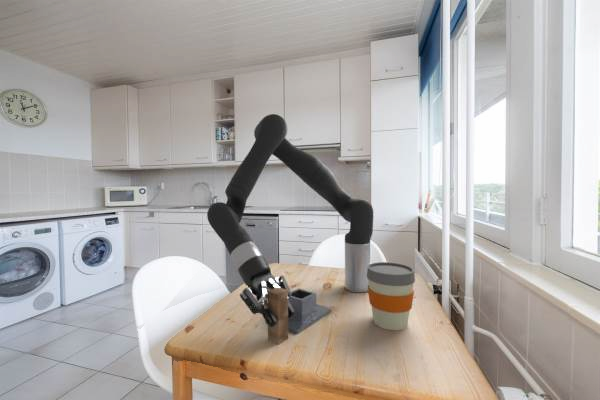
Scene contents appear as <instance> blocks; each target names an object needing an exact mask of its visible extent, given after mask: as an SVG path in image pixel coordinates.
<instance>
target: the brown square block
mask: <svg viewBox="0 0 600 400" xmlns="http://www.w3.org/2000/svg"><path fill="white" fill-rule="evenodd" d="M267 303H268V309H269V308H270V310H271V311H272V313H273V315H274V317H275V318H276V320H277V324H276V325H275V326H273V327H270V326H269V325H268V324H267V340H268V341H270V342H272V343H274V344H276V345H280V344H282V343H283V342H285V341H287V340H288V339H289V330H288V290H286V289H282V288H279V287H277V288H274V289H272V290H269V291H268V299H267Z"/></svg>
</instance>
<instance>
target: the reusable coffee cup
mask: <svg viewBox="0 0 600 400" xmlns="http://www.w3.org/2000/svg"><path fill="white" fill-rule="evenodd" d="M415 277H416V275H415V270H414V268H413V267H411V266H409V265H406V264H402V263H397V262H387V261H385V262H382V261H381V262H373V263H372V262H371V264H370V265H368V269H367V278H368V282H369V285H368V291H367V292H368V301H369V302H368V303H369V304H370V306H371V312H372V319H373V323H374V324H375V325H376V326H377V327H379V328H382V329H384V330H389V331H403V330H405V329H407V328H408V324H409V320H410V319H409V318H410V311H411V310H412V309H413V308H412V307H413V302H414V294H415V291H414V290H415V289H414V284H415V282H416V278H415Z"/></svg>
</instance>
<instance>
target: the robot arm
mask: <svg viewBox="0 0 600 400" xmlns="http://www.w3.org/2000/svg"><path fill="white" fill-rule="evenodd" d="M253 131H254V132H253V133H254V135H253V136H254V139H255V141H254V142H253V144H252V147H251V148H250V149H249V152H248V153H247V155H246V156H245V157H244V158H243V161H242V162H241V163H240V164H239V166H238V167H237V169H236V171H235V172H234V174H233V176H232V177H231V178H230V181H229V183H228V184H227V187H226V188H225V191H224V192H225V196H226V198H227V199H226V202H220V201H219V202H214V203H212V204H211V205H210V206H209V207H208V210H207V214H206V216H207V217H206V218H207V221H208V223H209V225H210V226H211V228H212V229H213V231H214V232H215V234H216V235H218V237H219V239H220V240H221V241H222V242H223V244H224V246H225V249H226V250H227V251H228V253H229V255H230V257H231V259H232V263H233V265H234V266H235V268H236V270H237V272H238V273H239V276H240V278H241V280H242V282H243V283H244V285H245V286H247V287H245V288H244V289H242V291H241V292H240V294H239V297H240V299H241V300H242V301H243V303H244V304H245V305H246V306H247V308H248V310H249V311H250V312H251V313H252V314H253V315H256V314H259V315H260V314H261V315H262V317H263V319H264V321H265V322H266V325H267V326H268V325H269V326H270V327H273V326H275V325H276V324H277V320H276V318H275V317H274V315H273V313H272V311H271V310H270V308H269V309H268V291H269V290H272V289H274V288H277V287H279V288H282V289H286V290H288V298H289V297H290V295H291V294H292V293H291V292H292V291H291V289H290V287H289V285H288V282H287V280H286V278H285V276H284V275H283V274H281V275H280V276H278V277H276V276H274V275H273V274H272V273H271V271H272V270H271V266H270V265H269V264H268V262H267V260H266V259H265V257H264V256H263V254H262V252H261V250H260V249H259V247H257V245H256V244H255V243H254V241H253V239H252V238H251V236H250V235H249V233H248V231H247V230H246V229H245V228H243V227H242V225H240V223H241V221H242V219H243V215H244V212H245V209H246V204H247V201H248V199H249V196H250V195H251V194H252V191H253V189H254V187H255V186H256V184H257V182H258V181H259V180H258V179H259V178H260V176H261V173H262V172H263V170H264V168H265V166H266V164H267V162H268V161H269V160H270V158H271V157H272V155H273V156H274V157H275V158H277V159H278V160H280V162H282V163H283V164H284V165H285V166H286V167H287V168H288V169H290V170H291V171H292V173H294V174H295V175H296V176H297V177H299V179H300V180H302V182H304V184H306V185H307V186H308V187H309V188H311V189H312V190H313V192H316V194H318V195H319V196H320V197H321V198H323V199H324V200H325V201H327V202H328V203H329V204H330V205H331V206H332V207H333V208H334V209H335V210H336V212H337V213H338V214H339V215H340V216H341V217H342V219H343V220H345V221H346V222H348V223H350V225H349V231H348V232H347V233H345V235H344V288H345V289H346V290H347V291H349V292H353V293H366V292H368V285H369V282H368V278H367V269H368V265H370V264H372V262H371V239H372V236H373V233H374V232H373V231H374V230H373V228H374V208H373V205H372V204H371V202H370V201H368V200H367V199H365V198H354V197H352V196H351V195H350V194H349V193H347V192H346V191H345V190H344V189H343V188H342V187H341V185H339V182H338V179H336V177H335V175H334V173H333V172H332V171H331V170H330V168H329V167H328V166H326V165H325V164H324V162H322V161H321V160H320V159H319V158H317V157H316V156H314V155H312V154H311V153H308V152H306V151H304V150H302V149H299V148H298V147H296V146H295V145H293V144H292V143H291V142H290V141H289V140H288V138H286V137H287V134H288V124H287V122H286V120H285V118H283V117H282V116H281V115H279V114H277V113H273V114H272V113H270V114H268V115H266V116H264V117H263V118H262V119H261V120H260V121H259V122H258V124H257V125H256V126H255V128H254V130H253ZM293 315H294V309H293V307H292V306H291V304H290V302H289V300H288V318H290V317H291V316H293Z"/></svg>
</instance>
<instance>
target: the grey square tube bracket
mask: <svg viewBox="0 0 600 400" xmlns="http://www.w3.org/2000/svg"><path fill="white" fill-rule="evenodd" d="M291 293H292V294H291V295H290V297H289V298H288V300H289V302H290V304H291V306H292V307H293V309H294V315H293V316H291V317H290V318H288V332H292V333H294V334H295V335H299V334H300V333H301V332H303V331H304V330H306V329H308V328H309V327H311V326H312V325H313V324H316V323H317V322H319V321H320V320H321V319H323V318H324V317H326V316H328V315H329V314H331V313H332V310H333V309H332V308H331V307H328V306H324V305H322V304H318V303H317V293H316V292H313V291H309V290H306V289H304V288H296V289H294V290H292V291H291Z"/></svg>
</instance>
